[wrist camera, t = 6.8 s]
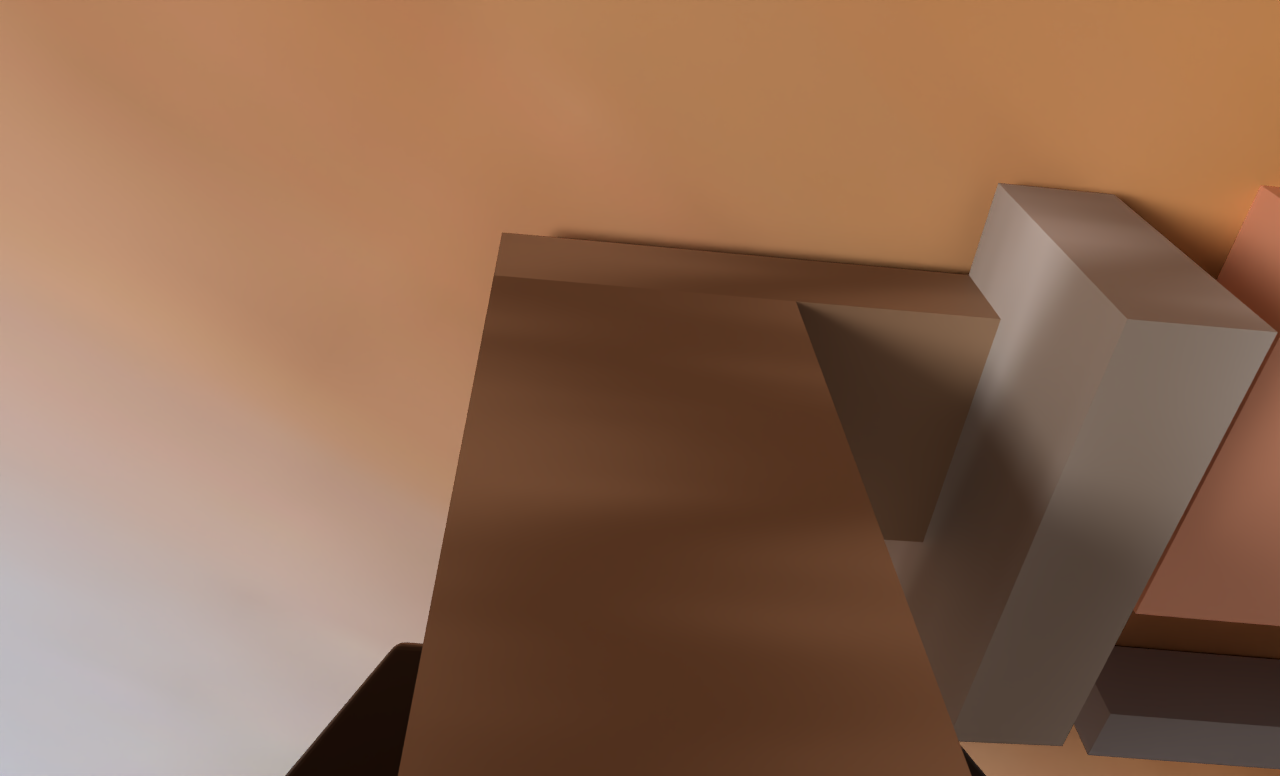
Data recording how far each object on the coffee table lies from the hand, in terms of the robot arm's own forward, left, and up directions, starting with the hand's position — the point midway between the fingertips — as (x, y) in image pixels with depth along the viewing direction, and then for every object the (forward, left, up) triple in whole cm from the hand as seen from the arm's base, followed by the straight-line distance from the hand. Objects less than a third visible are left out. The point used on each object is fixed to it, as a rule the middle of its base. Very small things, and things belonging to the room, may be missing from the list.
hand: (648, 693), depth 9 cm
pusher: (-2, 0, -6) cm, 6 cm away
